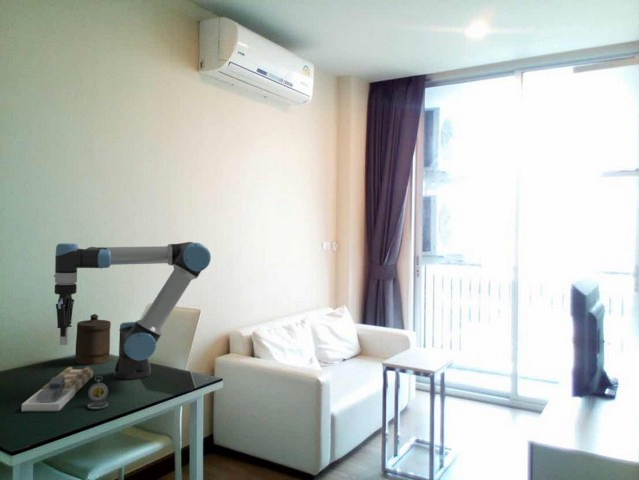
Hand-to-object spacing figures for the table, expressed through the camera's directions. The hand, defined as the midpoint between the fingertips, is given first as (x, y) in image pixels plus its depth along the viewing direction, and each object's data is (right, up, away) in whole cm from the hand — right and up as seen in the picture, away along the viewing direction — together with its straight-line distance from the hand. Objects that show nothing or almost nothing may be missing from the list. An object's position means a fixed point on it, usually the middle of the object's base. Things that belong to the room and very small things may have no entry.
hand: (63, 344), depth 188 cm
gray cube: (0, -16, -5) cm, 17 cm away
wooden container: (-10, -17, +44) cm, 49 cm away
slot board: (-2, -18, +8) cm, 20 cm away
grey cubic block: (+1, -16, -12) cm, 20 cm away
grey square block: (+1, -18, -10) cm, 21 cm away
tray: (+1, -19, -12) cm, 22 cm away
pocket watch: (+19, -20, -13) cm, 30 cm away
